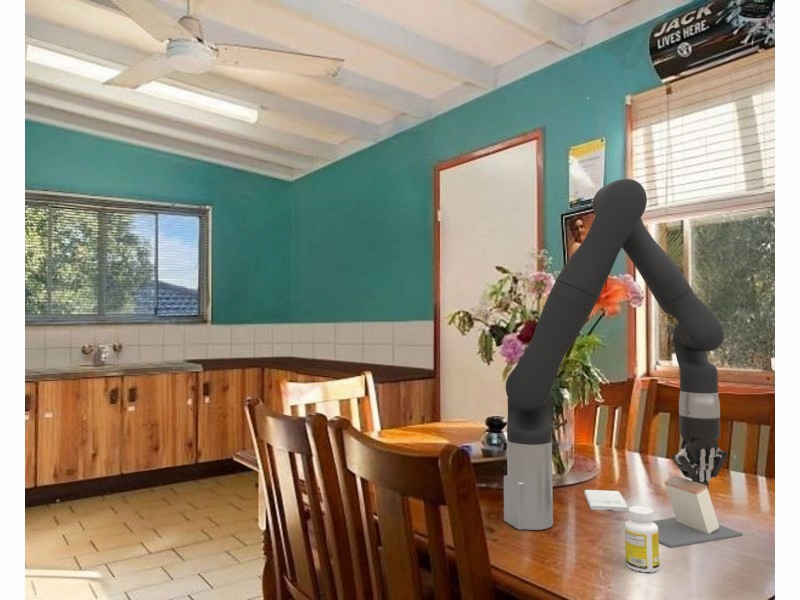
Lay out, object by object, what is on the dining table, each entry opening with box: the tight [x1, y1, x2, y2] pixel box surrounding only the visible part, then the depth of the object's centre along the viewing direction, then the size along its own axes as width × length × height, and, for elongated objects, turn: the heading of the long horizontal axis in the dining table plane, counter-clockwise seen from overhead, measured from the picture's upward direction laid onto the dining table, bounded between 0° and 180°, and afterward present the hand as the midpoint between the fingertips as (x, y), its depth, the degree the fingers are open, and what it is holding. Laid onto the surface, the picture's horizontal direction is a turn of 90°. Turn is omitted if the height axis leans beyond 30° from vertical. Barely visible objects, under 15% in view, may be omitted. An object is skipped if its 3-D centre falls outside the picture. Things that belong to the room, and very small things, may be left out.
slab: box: [664, 475, 720, 534], centre depth 121 cm, size 3×8×9 cm, turn 21°
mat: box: [652, 517, 744, 549], centre depth 120 cm, size 18×12×1 cm, turn 110°
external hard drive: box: [584, 489, 630, 513], centre depth 139 cm, size 2×8×12 cm
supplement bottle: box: [624, 506, 660, 573], centre depth 103 cm, size 5×5×10 cm
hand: (700, 498), depth 122 cm, fingers closed
